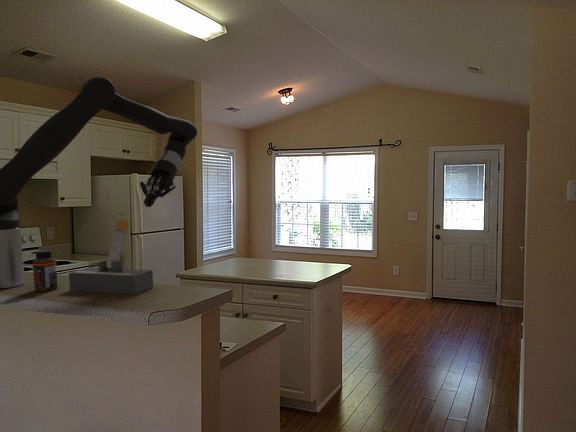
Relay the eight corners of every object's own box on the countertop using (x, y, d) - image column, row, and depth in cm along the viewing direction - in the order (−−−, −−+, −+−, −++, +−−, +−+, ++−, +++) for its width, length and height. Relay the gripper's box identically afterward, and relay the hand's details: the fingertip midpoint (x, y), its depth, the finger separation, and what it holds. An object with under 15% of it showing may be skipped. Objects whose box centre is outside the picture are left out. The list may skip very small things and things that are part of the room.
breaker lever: (103, 269, 136) (117, 220, 142) (107, 271, 137) (121, 223, 143) (111, 269, 135) (125, 220, 141) (115, 271, 136) (129, 223, 142)
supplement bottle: (30, 291, 138) (26, 251, 137) (48, 286, 143) (46, 248, 142) (43, 293, 135) (40, 252, 134) (62, 288, 140) (59, 249, 139)
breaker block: (70, 290, 137) (67, 262, 136) (90, 284, 144) (88, 257, 144) (135, 294, 130) (134, 264, 129) (153, 287, 137) (151, 259, 136)
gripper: (145, 159, 163) (123, 197, 153) (179, 158, 159) (160, 197, 148) (155, 175, 169) (135, 213, 158) (188, 174, 164) (170, 213, 154)
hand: (147, 205), depth 153 cm, fingers closed
